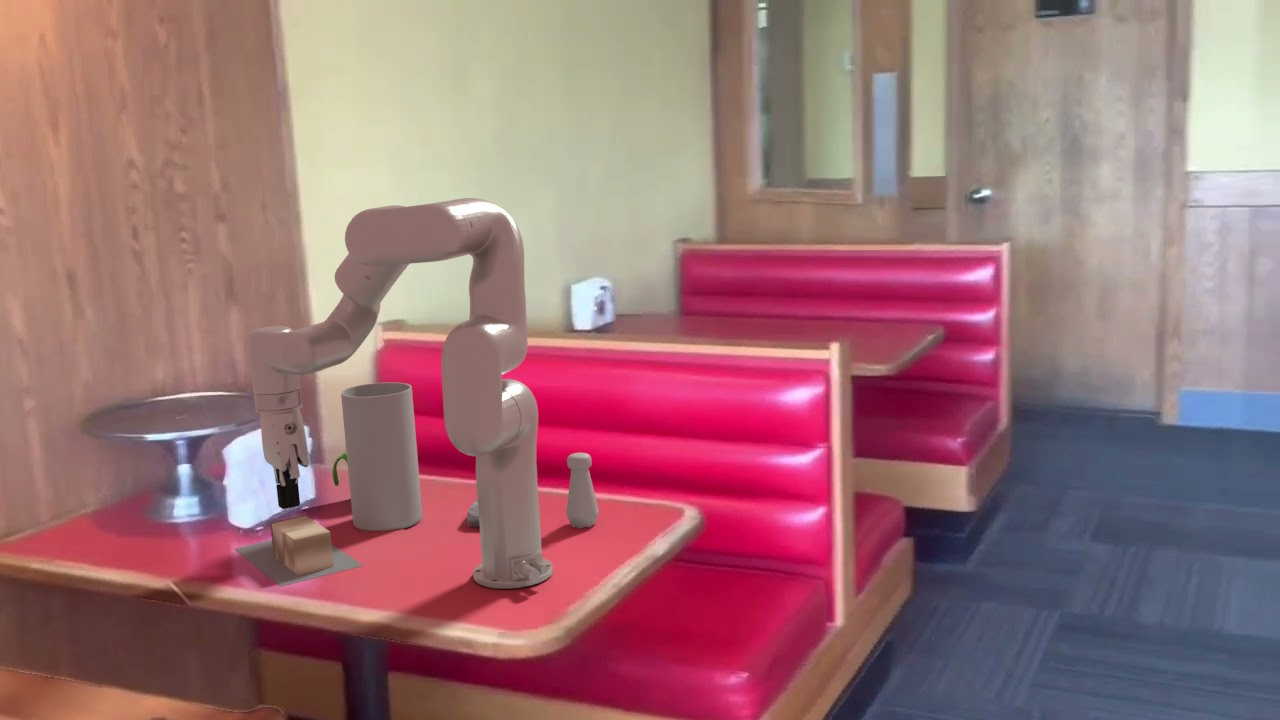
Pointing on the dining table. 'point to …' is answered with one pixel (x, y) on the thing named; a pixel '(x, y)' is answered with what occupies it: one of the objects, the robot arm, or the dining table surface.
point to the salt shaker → (581, 492)
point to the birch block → (302, 544)
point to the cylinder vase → (382, 456)
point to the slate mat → (282, 574)
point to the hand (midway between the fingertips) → (289, 506)
